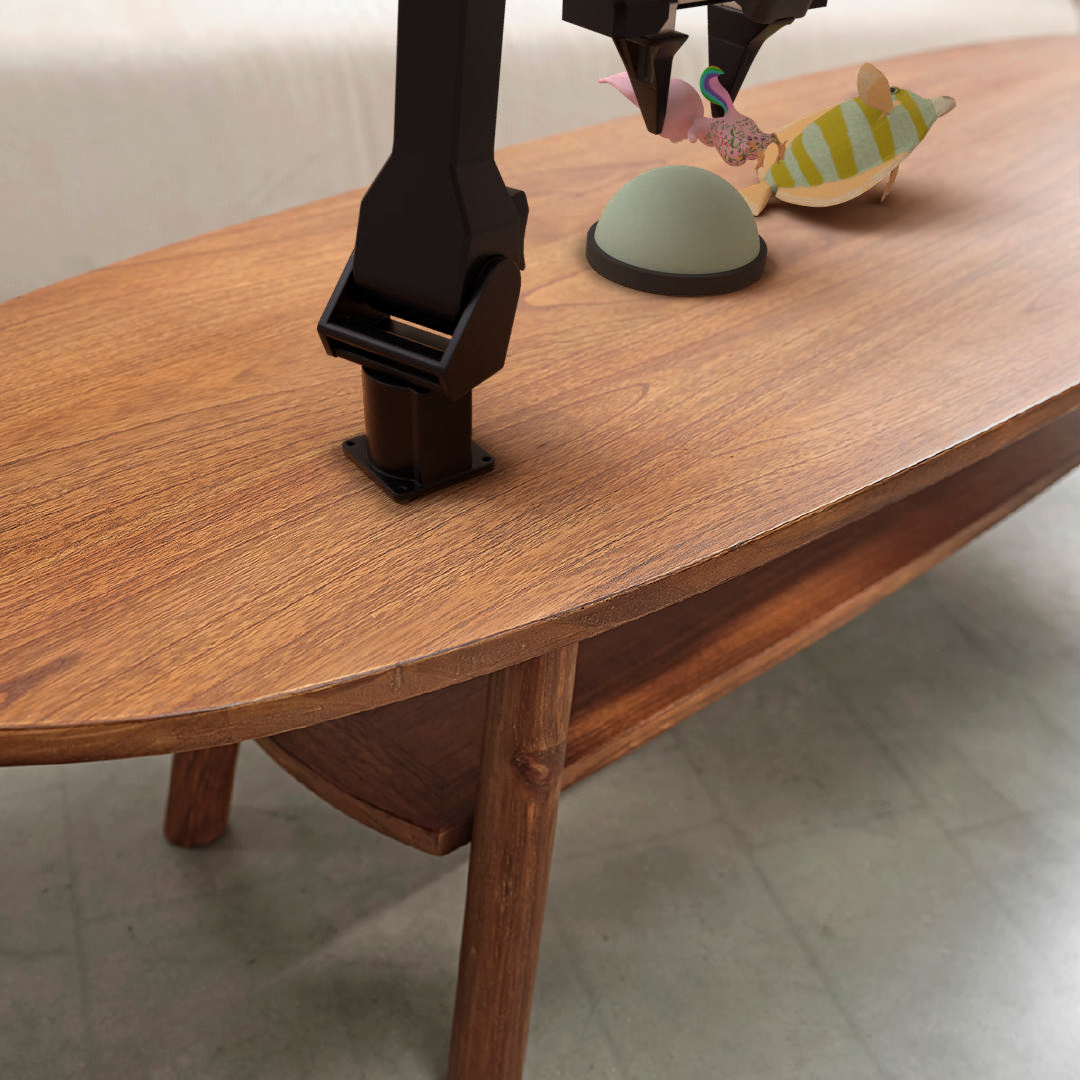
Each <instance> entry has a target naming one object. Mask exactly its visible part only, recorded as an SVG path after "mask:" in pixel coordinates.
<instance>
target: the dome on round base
mask: <svg viewBox="0 0 1080 1080" xmlns="http://www.w3.org/2000/svg"><path fill="white" fill-rule="evenodd" d="M738 191H739V190H738V189H737V188H736V187H735V186H734V185H733V184H731V183H730V182H729V181H727V180H726V179H725V178H724V177H722V176H720V175H719V174H716V173H714V172H713V171H711V170H708V169H705V168H702V167H698V166H693V165H687V164H686V165H685V164H672V165H671V164H670V165H663V166H659V167H656V168H653V169H649V170H647V171H644V172H643V173H640V174H638V175H636V176H635V177H633V178H632V179H630V180H628V181H627V182H626V183H624V185H623V186H622V187H620V188H619V189H617V191H616V192H615V193H614V194H613V196H612V197H611V198H610V199H609V201H608V202H607V203H606V206H605V207H604V209H603V210H602V213H601V215H600V217H599V219H598V220H597V221H595V222H593V223H592V225H591V226H590V227H589V229H588V230H587V233H586V241H585V242H586V243H585V244H586V245H585V258H586V260H587V262H588V265H589V266H590V267H591V268H592V269H593V270H594V271H596V272H597V273H598V274H599V275H601V276H603V278H605V279H608V280H610V281H612V282H614V283H617V284H619V285H621V286H625V287H628V288H630V289H634V290H638V291H642V292H646V293H652V294H657V295H664V296H675V297H709V296H718V295H723V294H730V293H733V292H738V291H740V290H743V289H745V288H747V287H749V286H751V285H754V283H756V282H758V280H760V278H761V277H762V276H763V274H764V272H765V267H766V261H767V255H768V245H767V242H766V240H765V239H764V238H763V237H762V236H761V235H760V234H759V229H758V224H757V221H756V219H755V215H753V213H752V211H751V209H750V207H749V206H748V204H747V202H746V201H745V199H744V198H743V196H742V195H741V194H740V193H739V192H738Z"/></svg>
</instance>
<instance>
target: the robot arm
mask: <svg viewBox="0 0 1080 1080" xmlns="http://www.w3.org/2000/svg"><path fill="white" fill-rule="evenodd" d="M506 2H507V0H397V18H396V19H397V21H396V22H397V23H396V49H395V73H394V74H395V76H394V77H395V78H394V106H393V107H394V108H393V133H392V134H393V137H392V146H391V152H390V154H389V155H388V157H387V159H386V160H385V162H384V163H383V165H382V167H381V168H380V169H379V171H378V173H377V174H376V175H375V177H374V179H373V181H372V182H371V183H370V184H369V186H368V188H367V189H366V191H365V193H364V195H363V196H362V198H361V200H360V203H359V208H358V209H359V210H358V216H357V217H358V219H357V223H356V224H357V226H356V231H355V232H356V233H355V240H354V246H353V249H352V251H351V253H350V256H349V257H348V260H347V262H346V264H345V265H344V268H343V269H342V272H341V274H340V276H339V279H338V280H337V282H336V285H335V287H334V289H333V291H332V293H331V295H330V297H329V299H328V301H327V303H326V306H325V308H324V309H323V311H322V314H321V316H320V318H319V320H318V322H317V325H316V331H317V334H318V337H319V339H320V341H321V344H322V346H323V348H324V351H325V353H326V355H327V356H329V357H333V358H336V359H337V358H340V359H343V360H346V361H348V362H350V363H354V364H356V365H358V366H361V370H360V371H361V385H362V399H363V400H362V402H363V416H364V428H365V429H364V430H365V433H363V434H360V435H357V436H354V437H351V438H348V439H345V440H343V442H341V448H342V452H343V454H344V455H346V457H347V458H349V459H350V460H351V461H352V462H353V463H354V464H355V465H356V466H357V467H359V468H360V469H361V471H363V472H364V473H365V474H366V475H367V476H368V477H369V478H370V479H371V480H372V481H374V483H376V484H377V485H378V486H379V487H380V488H381V489H382V490H383V491H384V492H385V493H387V495H388V496H389V497H391V499H393V500H394V501H397V502H405V501H408V500H411V499H414V498H417V497H419V496H422V495H425V494H427V493H431V492H433V491H436V490H439V489H441V488H444V487H447V486H450V485H453V484H455V483H457V482H460V481H464V480H466V479H469V478H471V477H475V476H477V475H480V474H482V473H485V472H488V471H490V470H493V469H494V468H495V467H496V458H495V456H493V455H492V454H491V453H490V452H488V451H487V449H485V448H483V446H481V445H480V444H479V443H477V442H476V441H475V440H473V390H474V389H475V388H476V387H478V386H479V385H481V384H482V383H484V382H485V381H487V380H489V379H490V378H491V377H493V376H494V375H495V374H497V373H498V372H500V371H501V370H503V369H504V367H505V364H506V359H507V354H508V350H509V345H510V340H511V337H512V332H513V327H514V322H515V318H516V313H517V309H518V305H519V301H520V295H521V294H520V293H521V289H522V274H521V273H522V272H524V271H525V269H526V259H525V238H526V237H525V236H526V229H527V226H528V219H529V213H530V206H529V201H528V198H527V194H526V192H525V191H524V190H522V189H518V188H515V187H510V186H507V185H506V183H505V180H504V179H503V176H502V173H501V172H500V169H499V168H498V165H497V163H496V160H495V144H496V143H495V142H496V129H497V119H498V118H497V117H498V107H499V106H498V105H499V91H500V80H501V68H502V67H501V65H502V55H503V54H502V53H503V42H504V31H505V29H504V28H505V18H506V17H505V16H506V5H507V3H506ZM698 7H699V8H700V7H706V13H707V16H706V19H707V54H708V57H707V58H708V59H707V61H708V67H709V66H716V67H718V68H720V69H721V70H722V71H723V72H724V74H720V75H719V76H717V78H718V81H719V83H720V84H721V85H722V86H723V87H724V88H725V90H726V91H727V92H728V94H729V95H730V98H731V100H732V103H733V104H735V101H736V99H737V96H738V95H739V92H740V90H741V88H742V86H743V83H744V81H745V80H746V77H747V75H748V73H749V71H750V68H751V67H752V65H753V63H754V61H755V59H756V57H757V56H758V53H759V52H760V51H761V48H762V46H763V45H764V43H765V42H766V41H767V40H768V39H769V38H771V37H772V36H773V35H774V34H776V33H777V32H778V31H780V30H781V29H782V28H784V27H786V26H790V25H792V24H793V23H794V22H795V20H798V19H802V18H805V16H806V15H807V12H808V11H809V10H814V9H820V8H827V7H828V0H562V7H561V21H563V22H566V23H568V24H571V25H574V26H577V27H580V28H583V29H585V30H588V31H591V32H594V33H597V34H600V35H602V36H605V37H608V38H609V39H610V38H611V40H612V42H613V44H614V46H615V49H616V51H617V53H618V56H619V57H620V59H621V62H622V64H623V66H624V69H625V71H627V74H628V76H629V79H630V82H631V85H632V88H633V90H634V93H635V96H636V99H637V102H638V105H639V108H640V109H639V108H638V109H639V110H640V113H641V116H642V118H643V119H642V120H643V122H644V124H645V128H646V130H647V132H648V133H650V134H652V135H655V136H658V135H659V134H661V133H662V130H663V125H664V121H665V117H666V111H667V103H668V95H669V86H670V78H672V70H673V69H672V68H673V61H674V57H675V55H676V54H677V53H678V51H679V50H680V49H681V48H682V47H683V46H684V44H685V43H686V42H687V41H688V39H689V37H690V35H689V34H687V33H685V32H681V31H678V30H675V29H676V22H677V21H676V19H677V11H679V10H685V9H693V8H698ZM709 106H710V114H711V118H721V117H724V114H725V111H724V108H723V107H722V106H720V105H718V104H715V103H712V102H710V101H709ZM659 136H660V135H659ZM392 317H394V318H397V319H400V320H402V321H406V322H409V323H412V324H414V325H417V326H421V327H424V328H425V329H429V330H432V331H436V332H438V333H441V334H444V335H447V336H450V337H451V338H449V337H446V336H443V335H440V334H437V333H434V332H432V331H428V330H425V329H422V328H420V327H416V326H413V325H410V324H407V323H404V322H402V321H399V320H395V319H393V318H392Z"/></svg>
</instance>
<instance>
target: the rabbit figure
mask: <svg viewBox="0 0 1080 1080" xmlns="http://www.w3.org/2000/svg"><path fill="white" fill-rule="evenodd" d="M720 74H724V72H723V71H722V70H721V69H720V68H718V67H716V66H709V65H708V66H707V67H706V68H705V69H704V70H703V71H702V73H701V75H700V78H699V91H700V93H701V94H702V96H703V97H704V98H705V99H706V100H707V101H708V102H709V103H710V102H712V103H715V104H718V105H720V106H722V107H723V108H724V111H725V114H724V117H721V118H713V117H707V116H705V107H704V103H703V101H702V97H701V95H700V94H699V92H698V91H697V90H696V89H695V87H694V86H692V85H691V84H690V83H689V82H687V81H685V80H684V79H681V78H678V77H671V78H670V86H669V95H668V103H667V111H666V117H665V121H664V125H663V130H662V133H661V134H659V136H660V137H662V138H664V139H668V140H669V141H670V143H671V144H678V143H679V142H684V140H688V141H689V142H690V144H695V143H697V142H698V141H699V142H700V143H702V144H703V145H704V146H706V147H709V148H715V149H716V151H717V153H718V154H719V156H720V158H721V159H722V160H723V162H724V163H725V164H727V165H728V166H730V167H740V166H743V165H744V164H746V163H747V162H748V161H755V160H756V159H757V165H756V164H755V167H754V171H755V173H756V175H757V176H758V169H759V168H760V167H761V166H762V167H763V168H765V167H764V166H763V165H764V158H765V155H764V152H765V151H766V149H767V147H768V146H769V145H770V144H771V143H772V142H773V143H775V144H776V145H777V146H778V153H779V155H778V156H777V159H776V163H777V162H778V165H779V166H780V163H779V160H781V159H783V160H785V159H784V158H783V157H785V150H786V146H785V143H786V142H787V141H788V140H785V142H784V143H783V145H782V143H781V142H780V141H779V139H778V137H777V135H776V133H772V132H770V133H771V134H770V133H765V132H763V131H762V130H761V129H760V127H759V126H758V124H757V123H756V122H755V120H754V119H752V118H751V117H749V116H747V115H745V114H743V113H740V112H739V111H738V109H736V107H735V106H734V103H732V100H731V98H730V95H729V94H728V92H727V91H726V90H725V88H724V87H723V86H722V85H721V84H720V83H719V81H718V78H717V76H719V75H720ZM597 82H598V83H599V84H609V85H611V86H612V87H614V88H615V89H616V90H617V91H618V92H619V93H621V95H622V96H624V97H625V98H626V100H629V101H630V102H631V103H632V104H633V105H634V106H635V107H637V108H638V109H639V110H640V108H639V105H638V102H637V99H636V96H635V93H634V90H633V88H632V85H631V82H630V79H629V76H628V74H627V71H626V70H625V71H621V72H618V73H616V74H613V75H609V76H604V77H601V78H598V80H597ZM777 160H778V161H777Z"/></svg>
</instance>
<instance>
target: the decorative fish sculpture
mask: <svg viewBox="0 0 1080 1080" xmlns="http://www.w3.org/2000/svg"><path fill="white" fill-rule="evenodd" d="M856 88H857V93H858V96H855V97H852V98H850V99H847V100H844V101H840V102H837V103H834V104H830V105H828V106H826V107H823V108H820V109H818V110H815V111H812V112H810V113H808V114H806V115H804V116H802V117H799V118H796V119H795V120H793V121H790V122H789V123H786V124H785V125H783V126H780V127H779V128H777V129H776V130H774V131H771V132H770V133H769V134H771V133H776V135H777V137H778V139H779V141H780V142H781V143H782V145H783V143H784V142H785V140H788V141H787V142H786V143H785V146H786V150H785V157H783V158H784V159H785V160H783V159H781V160H779V163H780V166H779V165H778V162H777V163H776V159H777V156H778V155H779V153H778V146H777V145H776V144H775V143H773V142H772V143H771V144H770V145H769V146H768V147H767V149H766V151H765V152H764V155H765V158H764V165H763V166H764V167H765V168H763V167H762V166H761V167H760V168H759V169H758V175H757V179H758V182H759V183H755V184H752V185H749V186H746V187H744V188H742V189H740V190H737V191H738V192H739V193H740V194H741V195H742V196H743V198H744V199H745V201H746V202H747V204H748V206H749V207H750V209H751V211H752V213H753V215H754V217H757V216H759V215H760V214H761V213H762V212H763V210H764V209H765V208H766V207H767V204H768V203H769V200H770V199H773V198H777V199H779V200H780V201H782V202H785V203H788V204H792V205H798V206H804V207H811V208H825V207H826V208H827V207H832V206H836V205H839V204H843V203H845V202H848V201H850V200H853V199H855V198H856V197H859V196H860V195H862V194H864V193H865V192H867V191H869V190H870V189H872V188H873V187H874V186H875V185H876V184H878V183H879V182H880V181H882V180H883V179H884V178H885V177H887V176H888V175H889V179H888V182H887V183H886V184H887V185H886V187H885V188H884V191H883V194H882V196H881V199H880V202H881V203H882V202H883V201H884V200H885V198H886V197H887V196H888V195H889V193H890V192H891V189H892V188H893V186H894V185H895V184H894V183H895V182H896V179H897V176H898V172H899V167H900V164H902V162H904V161H905V160H906V159H907V158H908V157H909V156H910V155H911V154H912V153H913V151H914V150H915V149H916V148H917V147H918V146H919V145H920V144H921V143H922V141H923V140H924V139H925V138H926V136H927V134H928V133H929V131H930V130H931V129H932V127H933V125H934V124H935V122H936V121H937V120H938V119H939V118H942V117H944V116H945V115H947V114H949V113H950V112H951V111H953V110H954V109H955V108H956V106H957V103H956V99H955V98H954V97H953V96H950V95H937V96H933V97H929V98H925V97H922V96H920V95H918V94H917V93H915V92H913V91H911V90H909V89H904V88H900V87H899V86H896V85H895V86H893V85H892V86H890V83H889V80H888V78H887V77H886V75H885V74H884V72H883V71H881V70H880V69H879V68H878V67H877V66H875V65H874V64H873V63H869V62H864V63H863V64H862V65H861V66H860V68H859V70H858V72H857V78H856ZM777 161H778V160H777ZM754 163H755V166H756V165H757V159H756V160H754Z"/></svg>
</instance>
